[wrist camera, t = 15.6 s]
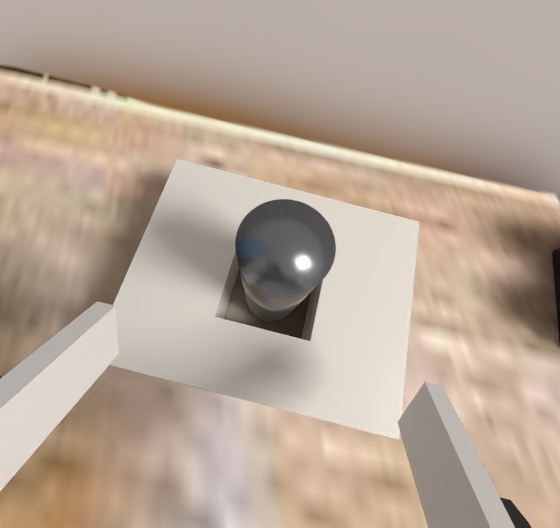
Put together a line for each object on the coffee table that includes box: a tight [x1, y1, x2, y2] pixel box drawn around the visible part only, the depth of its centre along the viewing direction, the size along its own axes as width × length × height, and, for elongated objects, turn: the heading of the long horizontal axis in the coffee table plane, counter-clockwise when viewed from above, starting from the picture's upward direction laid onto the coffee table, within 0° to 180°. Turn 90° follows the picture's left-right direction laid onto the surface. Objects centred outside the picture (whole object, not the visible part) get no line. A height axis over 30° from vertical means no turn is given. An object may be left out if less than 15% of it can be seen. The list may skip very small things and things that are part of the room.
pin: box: [235, 199, 336, 321], centre depth 16 cm, size 4×4×11 cm
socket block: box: [110, 159, 419, 439], centre depth 19 cm, size 18×14×4 cm
